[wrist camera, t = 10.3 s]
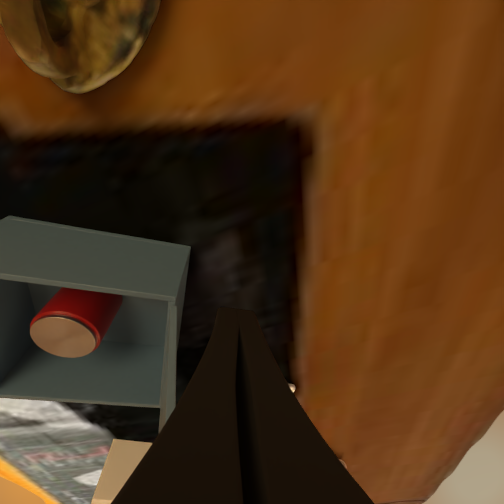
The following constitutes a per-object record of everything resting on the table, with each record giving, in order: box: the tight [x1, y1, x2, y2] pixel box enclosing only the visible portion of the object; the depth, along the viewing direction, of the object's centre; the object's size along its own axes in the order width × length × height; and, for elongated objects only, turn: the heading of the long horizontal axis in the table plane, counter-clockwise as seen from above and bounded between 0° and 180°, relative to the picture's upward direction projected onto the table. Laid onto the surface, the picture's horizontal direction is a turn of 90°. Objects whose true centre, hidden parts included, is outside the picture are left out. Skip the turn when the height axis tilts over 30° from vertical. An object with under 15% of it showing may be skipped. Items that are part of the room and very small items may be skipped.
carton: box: [0, 216, 191, 408], centre depth 19 cm, size 12×12×6 cm
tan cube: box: [91, 439, 152, 504], centre depth 34 cm, size 6×6×6 cm
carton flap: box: [159, 306, 177, 433], centre depth 15 cm, size 6×12×1 cm
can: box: [30, 287, 122, 358], centre depth 19 cm, size 4×4×4 cm
